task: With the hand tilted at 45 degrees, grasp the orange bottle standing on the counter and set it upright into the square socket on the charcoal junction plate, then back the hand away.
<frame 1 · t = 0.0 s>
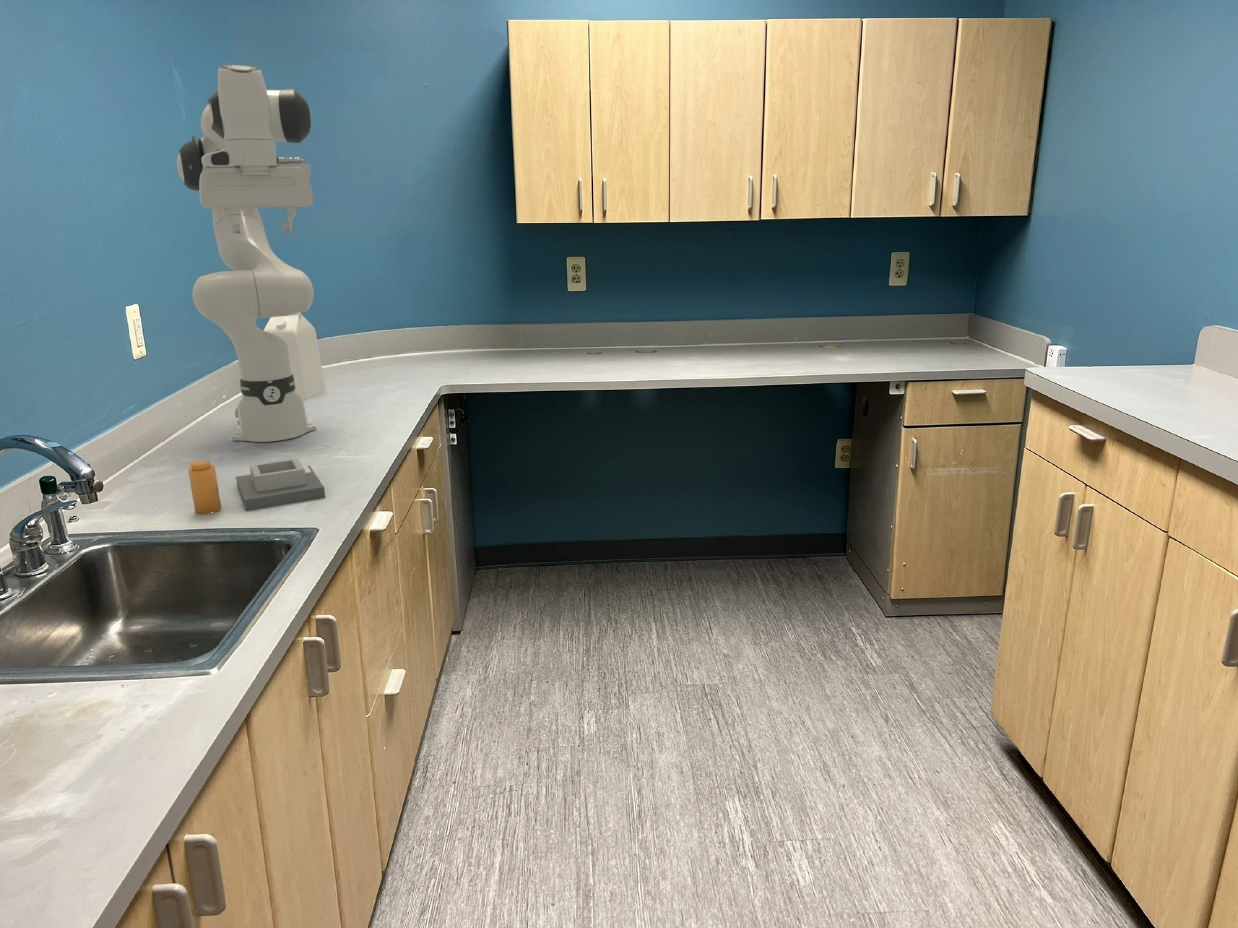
hand: (262, 232, 168), 48 cm above the countertop, tool pointing down, fingers open, 8 cm apart
orange bottle: (208, 510, 158), on the countertop
milk: (297, 395, 252), on the countertop
junction plate: (280, 491, 167), on the countertop
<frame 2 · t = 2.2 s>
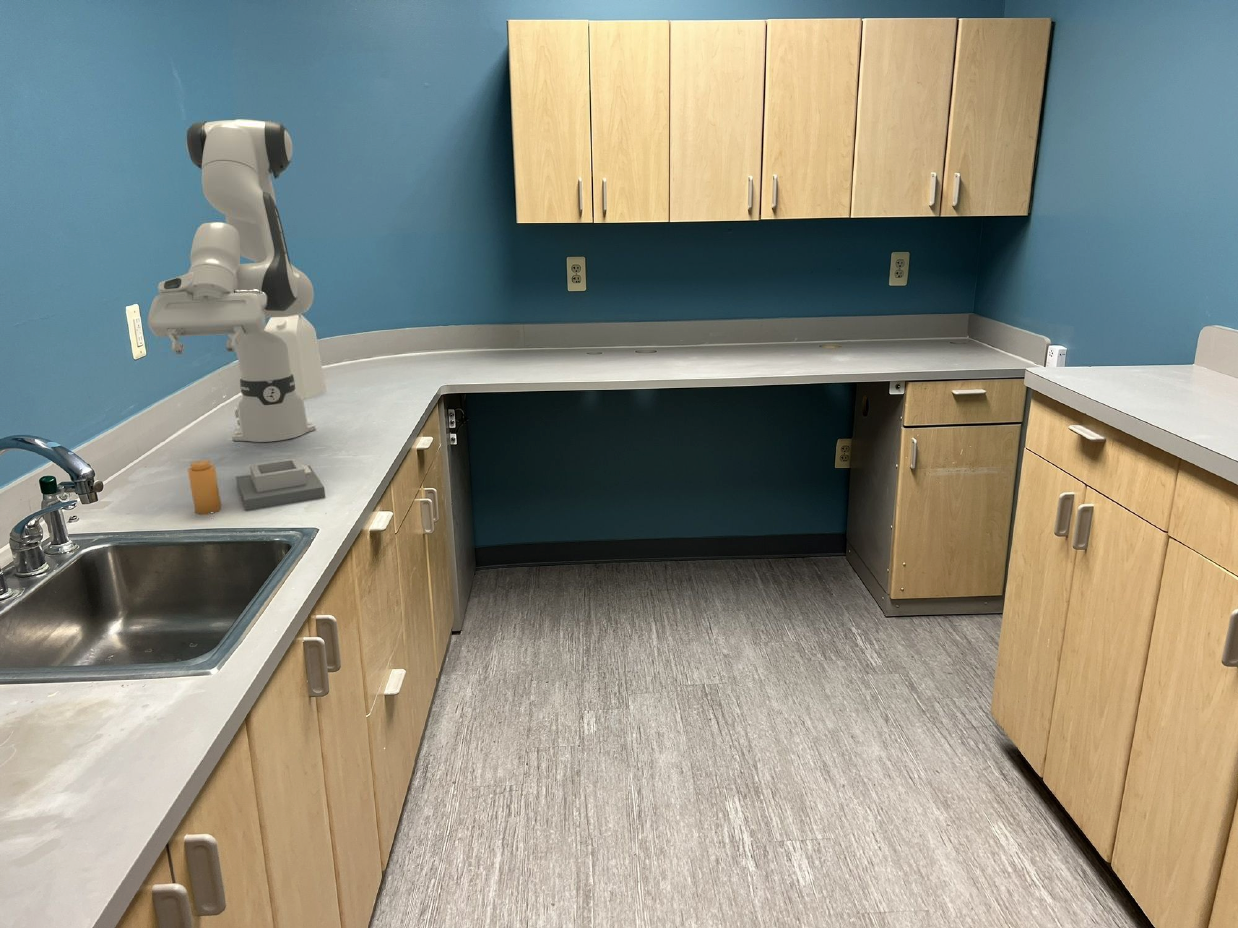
hand: (204, 351, 159), 28 cm above the countertop, tool tilted 45°, fingers open, 8 cm apart
nothing on the countertop moved.
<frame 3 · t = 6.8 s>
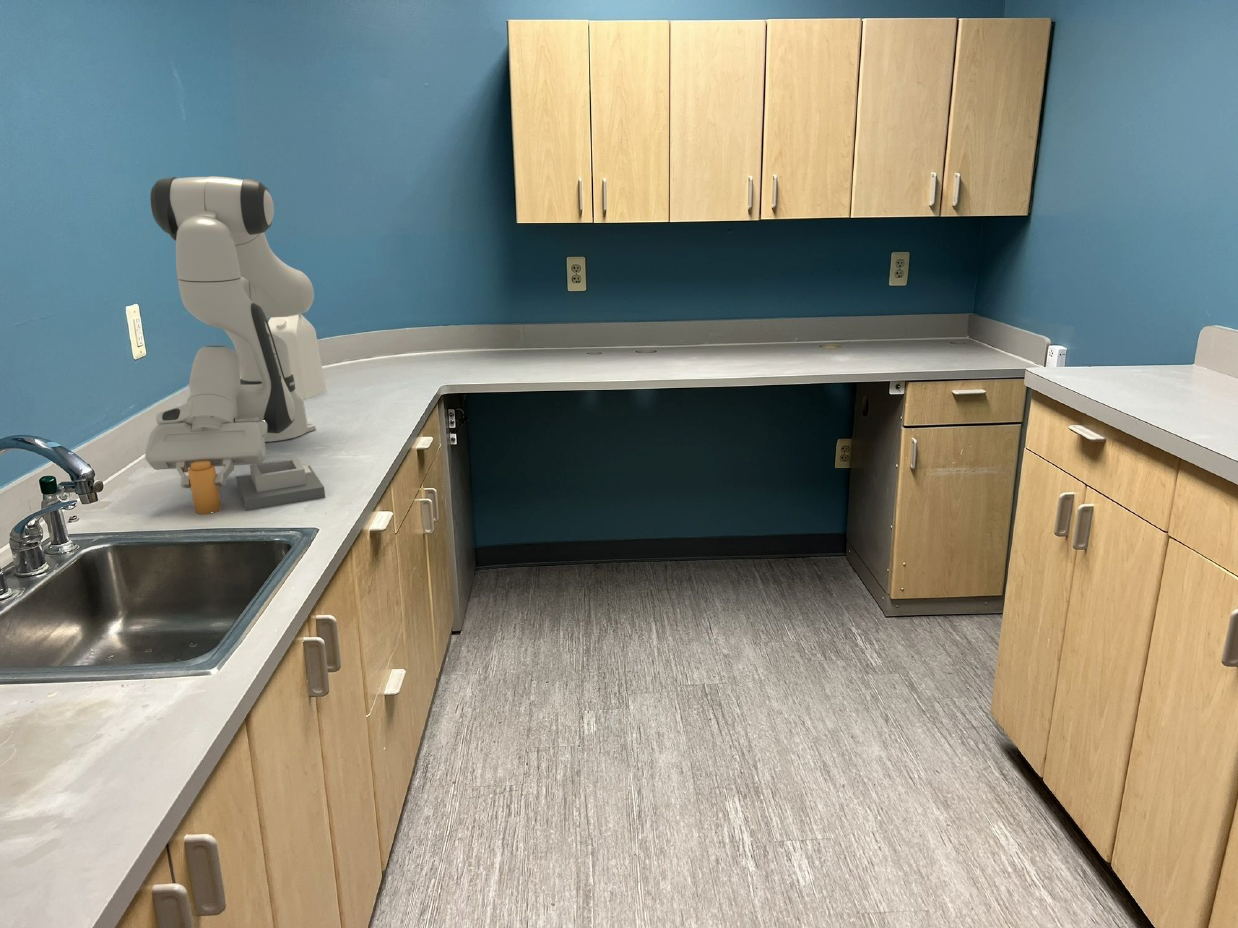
hand: (202, 485, 156), 5 cm above the countertop, tool tilted 45°, fingers closed on orange bottle, 4 cm apart
orange bottle: (208, 510, 158), on the countertop, touching gripper
everything else where it was.
when the fingers open (8 cm above the countertop, at t = 11.4 s): orange bottle drops 1 cm, resting on junction plate.
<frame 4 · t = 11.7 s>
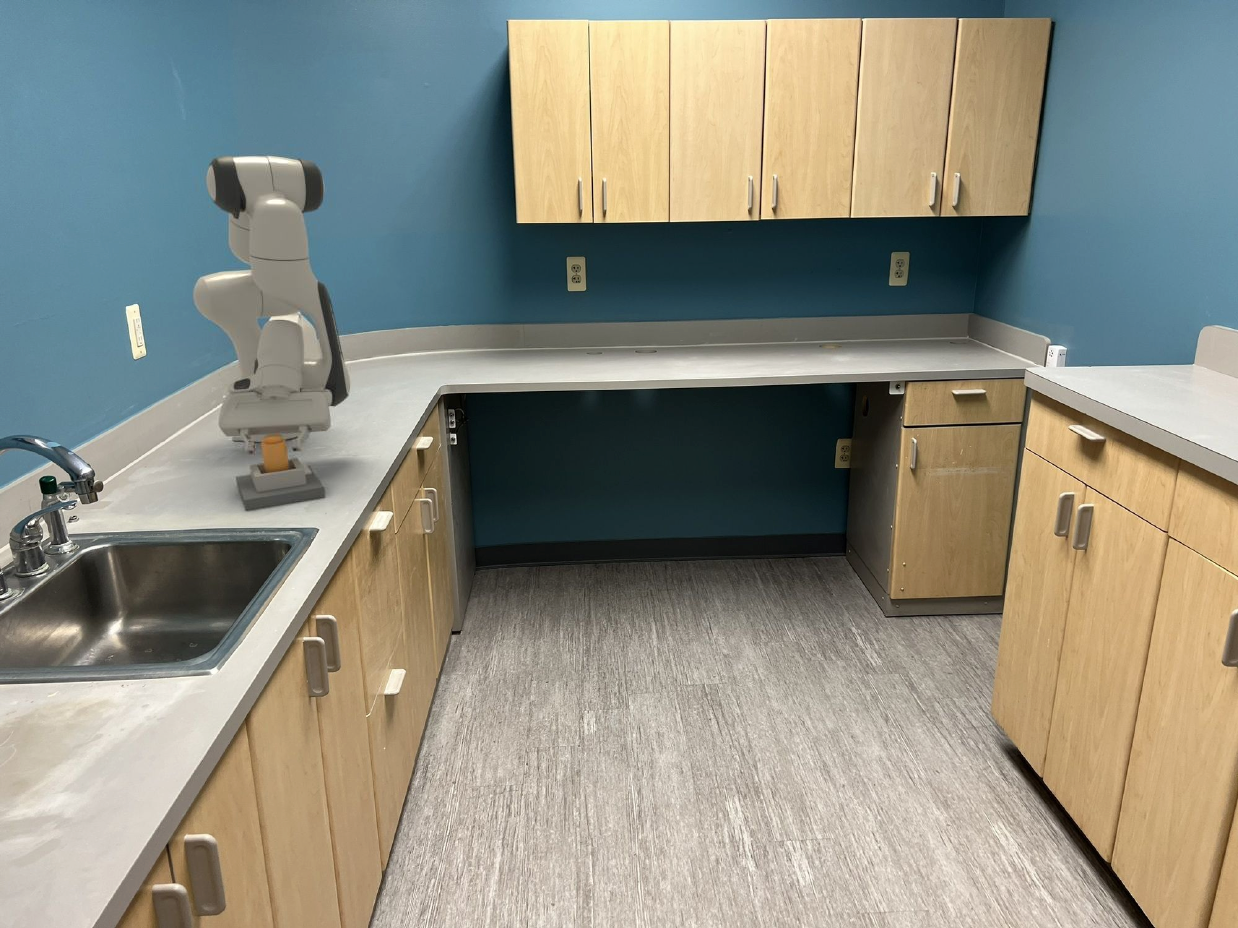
hand: (273, 451, 164), 8 cm above the countertop, tool tilted 45°, fingers open, 7 cm apart
orange bottle: (278, 481, 167), point 2 cm above the countertop, touching junction plate
everything else where it was.
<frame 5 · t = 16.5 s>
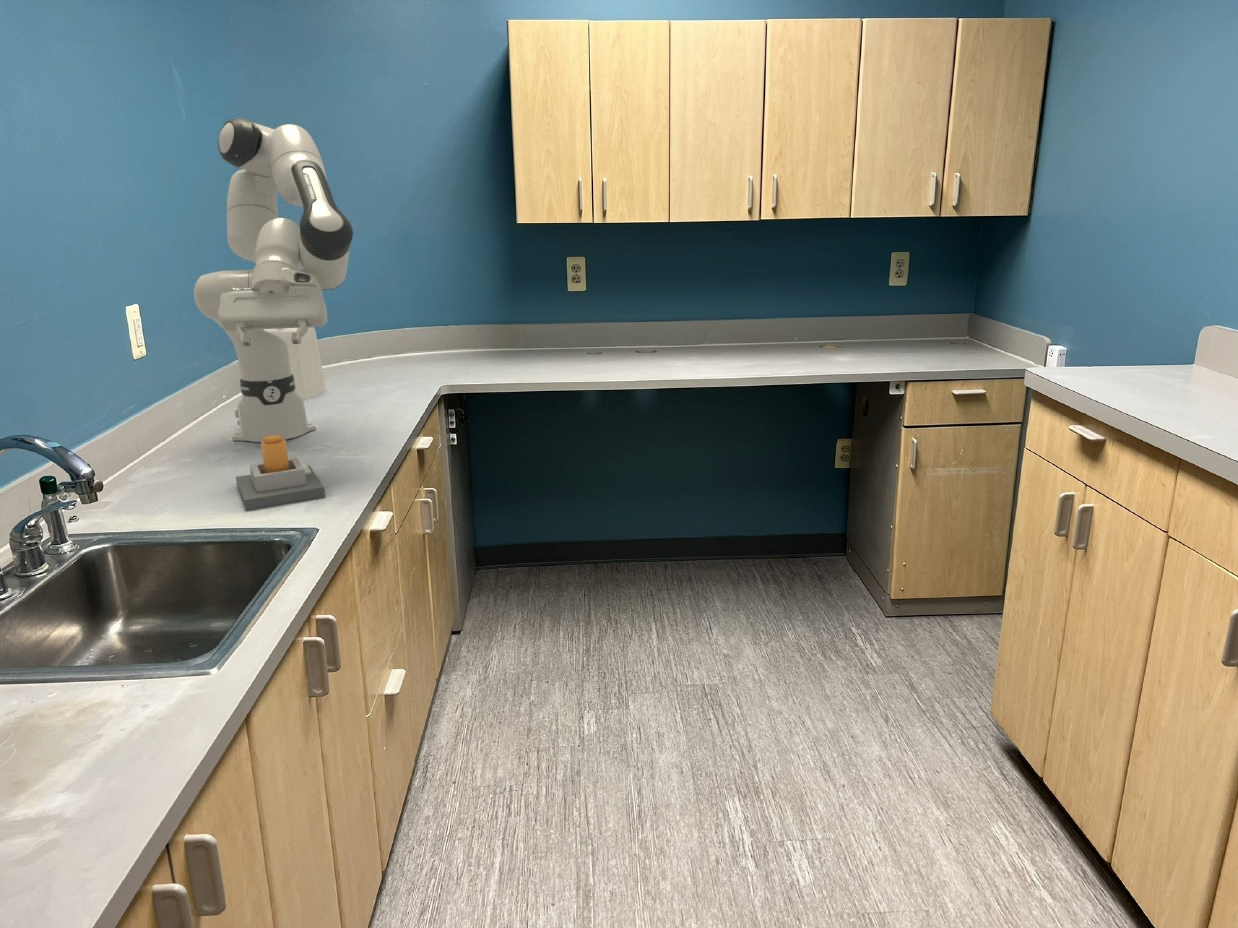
hand: (270, 343, 167), 27 cm above the countertop, tool tilted 45°, fingers open, 8 cm apart
nothing on the countertop moved.
at the end: orange bottle 0.0 cm off-centre on the junction plate, point 2.0 cm above the junction plate's base; orange bottle tilted 1°; the gripper is holding nothing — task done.
